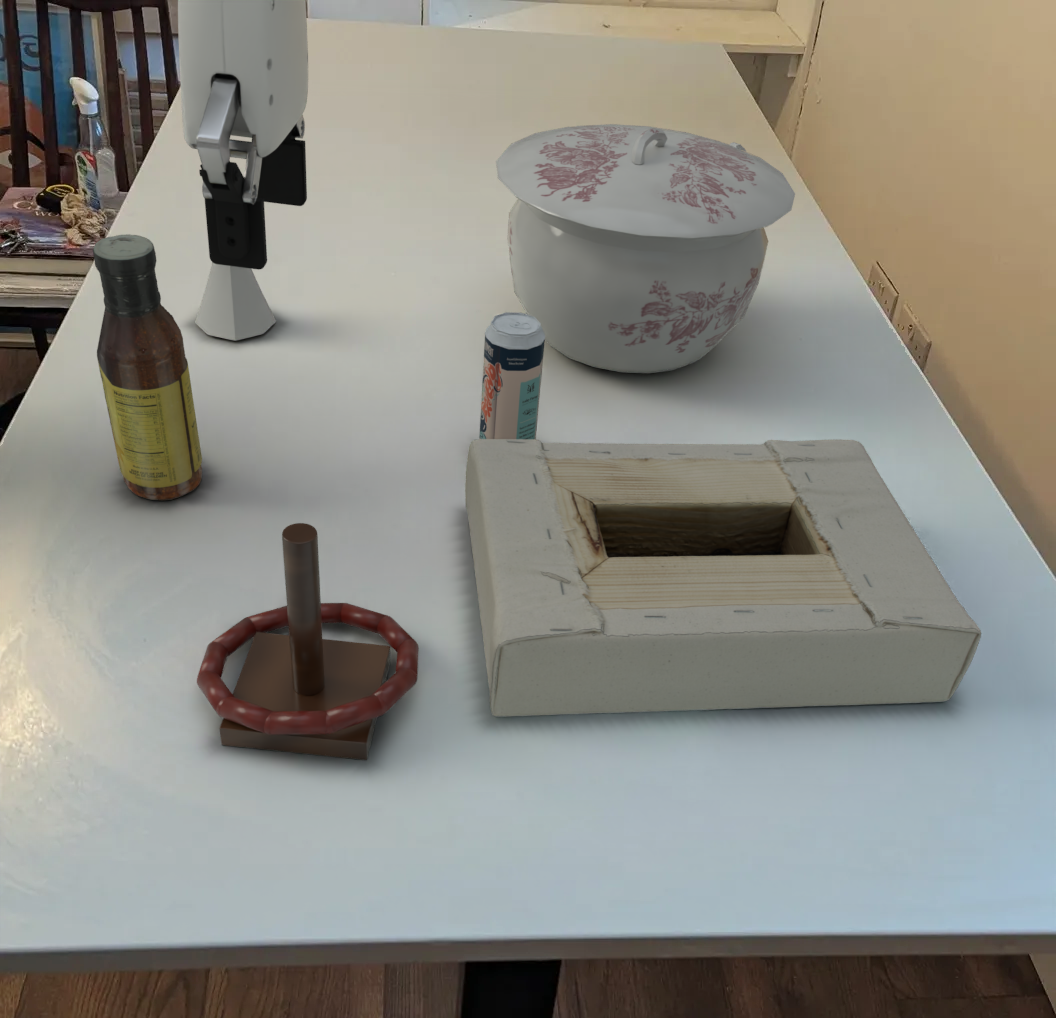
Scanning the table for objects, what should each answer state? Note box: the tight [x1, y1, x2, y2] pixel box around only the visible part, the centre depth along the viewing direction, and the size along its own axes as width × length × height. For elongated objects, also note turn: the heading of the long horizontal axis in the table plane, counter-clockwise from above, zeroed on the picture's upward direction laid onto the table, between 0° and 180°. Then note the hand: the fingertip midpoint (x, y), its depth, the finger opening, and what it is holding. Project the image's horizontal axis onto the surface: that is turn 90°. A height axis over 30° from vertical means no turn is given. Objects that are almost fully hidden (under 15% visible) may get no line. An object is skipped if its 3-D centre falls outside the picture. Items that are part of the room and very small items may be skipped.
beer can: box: [478, 311, 546, 440], centre depth 97 cm, size 5×5×12 cm
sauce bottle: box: [92, 233, 203, 501], centre depth 87 cm, size 6×6×20 cm
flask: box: [194, 261, 277, 341], centre depth 112 cm, size 7×7×10 cm
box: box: [464, 438, 982, 717], centre depth 84 cm, size 23×8×32 cm
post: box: [218, 522, 391, 761], centre depth 72 cm, size 9×9×14 cm
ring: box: [196, 602, 420, 735], centre depth 76 cm, size 14×14×1 cm
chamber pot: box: [495, 123, 796, 374], centre depth 112 cm, size 28×28×21 cm
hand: (261, 231), depth 72 cm, fingers open, 9 cm apart
